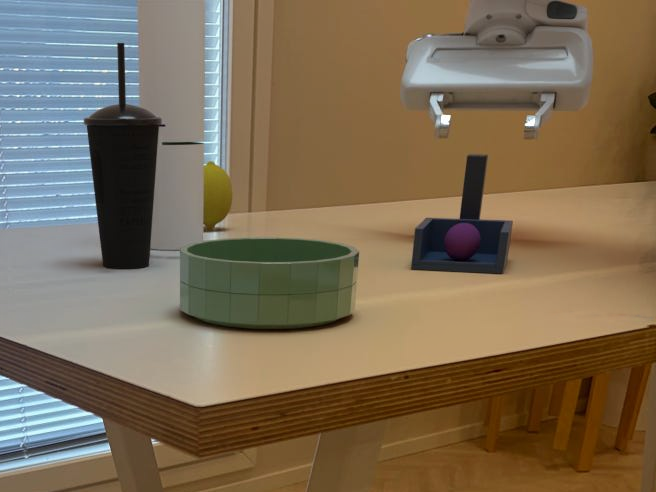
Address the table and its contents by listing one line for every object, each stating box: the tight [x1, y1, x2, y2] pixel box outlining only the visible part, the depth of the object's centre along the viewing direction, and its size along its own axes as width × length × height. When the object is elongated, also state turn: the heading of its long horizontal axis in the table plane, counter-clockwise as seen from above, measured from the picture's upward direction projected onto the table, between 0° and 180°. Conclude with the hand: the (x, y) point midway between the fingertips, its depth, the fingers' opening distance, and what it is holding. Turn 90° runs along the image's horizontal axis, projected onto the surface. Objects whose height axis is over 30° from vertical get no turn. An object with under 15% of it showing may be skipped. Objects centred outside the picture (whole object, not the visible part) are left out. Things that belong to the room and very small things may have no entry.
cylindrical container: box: [137, 0, 206, 251], centre depth 113 cm, size 7×7×25 cm
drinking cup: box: [83, 42, 162, 270], centre depth 102 cm, size 8×8×20 cm
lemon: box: [203, 160, 233, 231], centre depth 130 cm, size 6×6×8 cm
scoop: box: [410, 153, 514, 275], centre depth 105 cm, size 9×12×10 cm
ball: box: [444, 223, 481, 261], centre depth 104 cm, size 4×4×4 cm
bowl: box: [179, 236, 360, 330], centre depth 83 cm, size 14×14×5 cm
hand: (485, 134), depth 112 cm, fingers open, 8 cm apart
